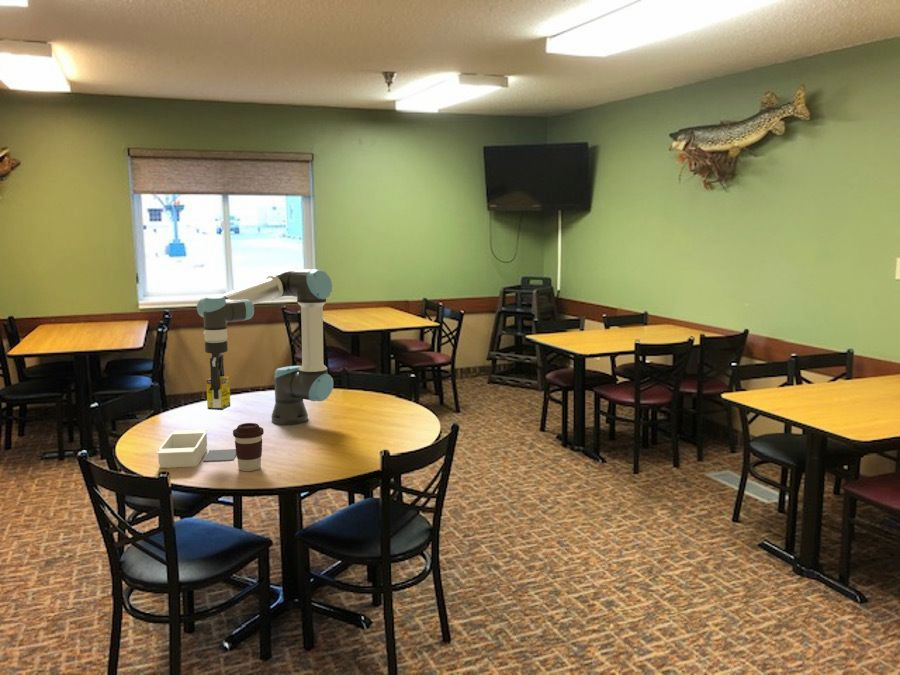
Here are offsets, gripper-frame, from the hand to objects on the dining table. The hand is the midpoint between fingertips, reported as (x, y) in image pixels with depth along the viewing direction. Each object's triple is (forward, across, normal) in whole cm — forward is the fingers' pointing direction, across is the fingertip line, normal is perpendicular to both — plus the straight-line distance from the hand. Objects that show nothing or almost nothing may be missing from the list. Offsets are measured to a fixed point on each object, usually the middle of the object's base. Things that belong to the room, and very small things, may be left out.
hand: (218, 404), depth 246 cm
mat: (+19, 0, 0) cm, 19 cm away
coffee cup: (+19, +15, +12) cm, 27 cm away
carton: (+19, +1, -12) cm, 23 cm away
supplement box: (+1, 0, 0) cm, 1 cm away
